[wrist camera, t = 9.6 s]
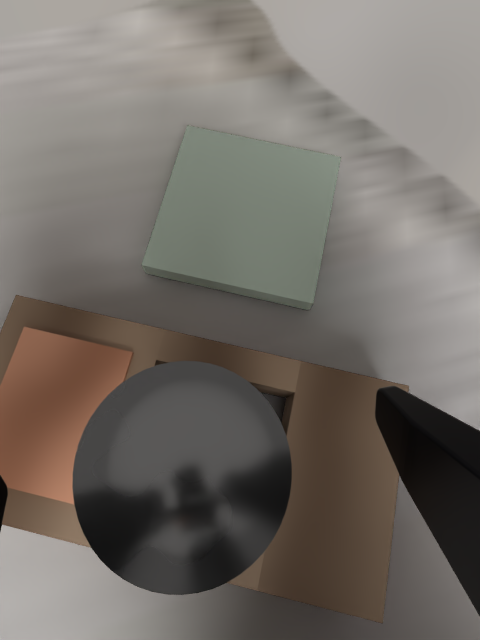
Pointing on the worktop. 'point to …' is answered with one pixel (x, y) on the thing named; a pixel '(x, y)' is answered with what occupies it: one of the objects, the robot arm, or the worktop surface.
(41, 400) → the brown slotted block
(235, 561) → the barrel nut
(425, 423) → the robot arm
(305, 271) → the pale green square plate
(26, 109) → the worktop surface
